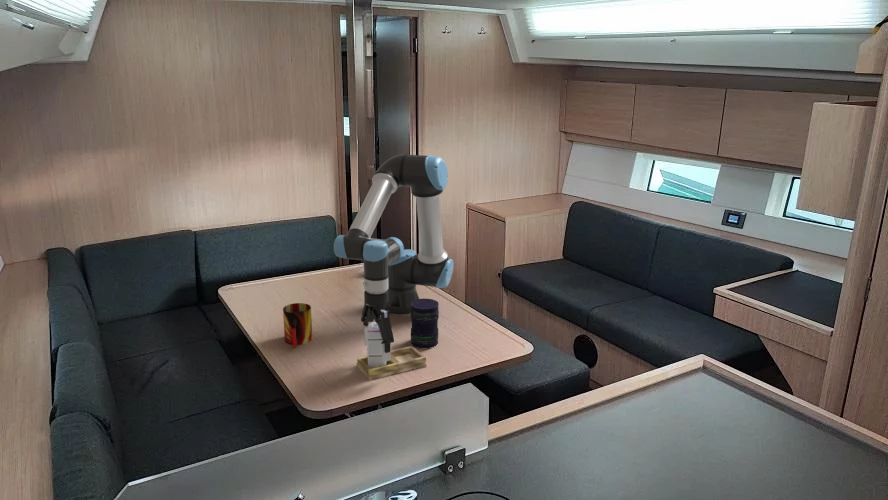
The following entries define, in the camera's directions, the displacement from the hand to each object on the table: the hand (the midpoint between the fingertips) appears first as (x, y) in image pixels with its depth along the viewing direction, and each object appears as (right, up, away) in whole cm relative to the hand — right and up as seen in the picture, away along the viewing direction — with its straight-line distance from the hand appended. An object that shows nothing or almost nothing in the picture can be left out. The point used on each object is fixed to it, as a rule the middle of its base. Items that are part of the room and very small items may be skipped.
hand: (377, 352), depth 207 cm
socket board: (+4, -5, +4) cm, 8 cm away
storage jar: (+14, 0, +22) cm, 26 cm away
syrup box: (0, -5, +2) cm, 5 cm away
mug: (-29, 0, +22) cm, 36 cm away
